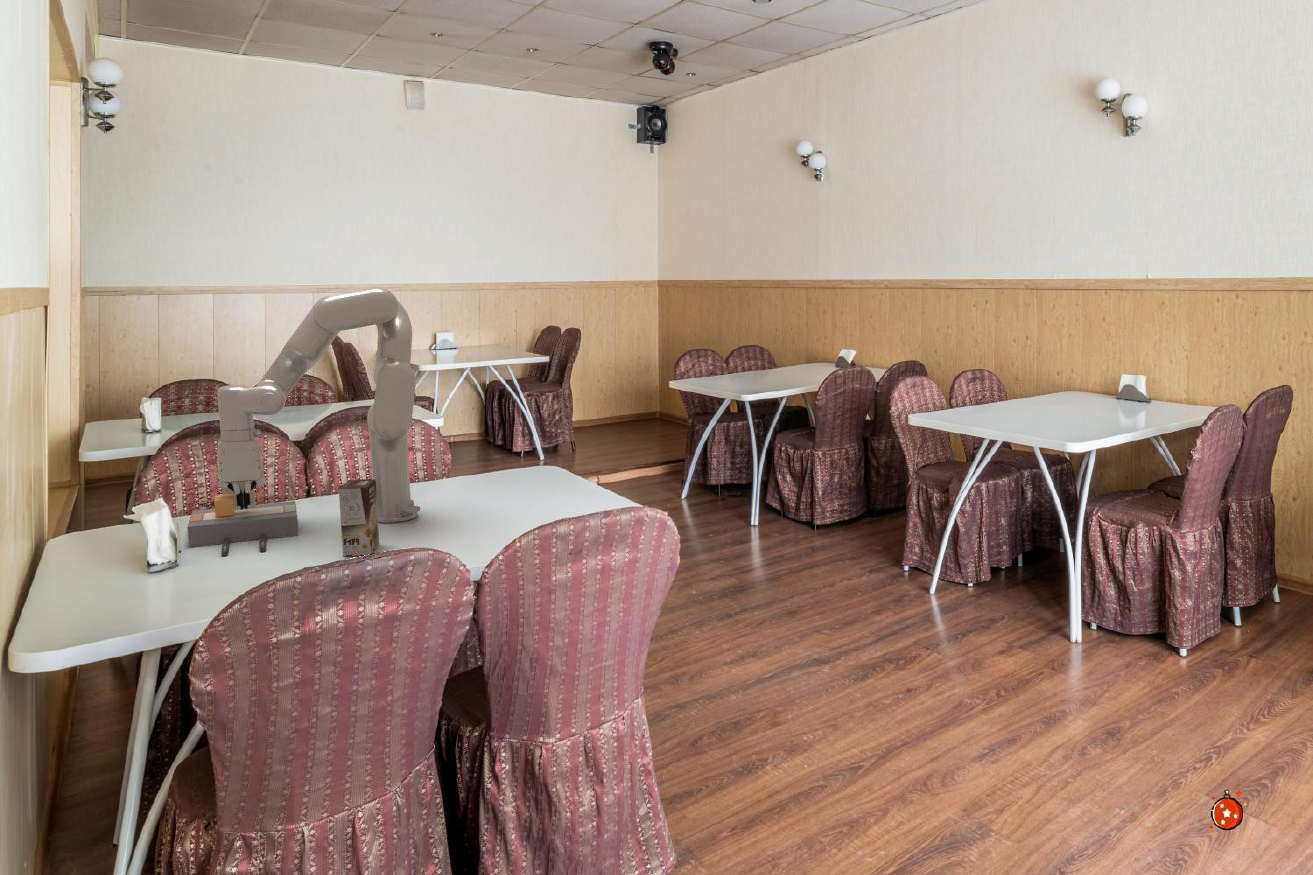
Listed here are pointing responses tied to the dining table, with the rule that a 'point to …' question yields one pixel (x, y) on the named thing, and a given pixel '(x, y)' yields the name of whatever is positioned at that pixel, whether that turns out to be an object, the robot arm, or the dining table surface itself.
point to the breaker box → (243, 525)
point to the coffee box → (359, 517)
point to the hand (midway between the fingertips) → (244, 508)
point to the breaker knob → (224, 505)
